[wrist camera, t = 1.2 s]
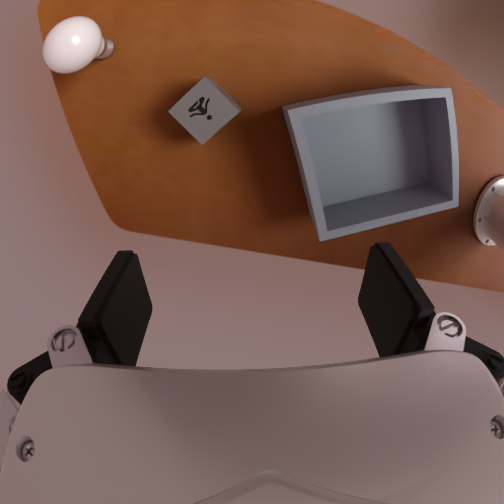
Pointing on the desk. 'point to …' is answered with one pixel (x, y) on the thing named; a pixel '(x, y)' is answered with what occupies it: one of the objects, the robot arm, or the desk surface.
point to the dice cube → (204, 109)
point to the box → (375, 156)
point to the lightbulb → (74, 45)
